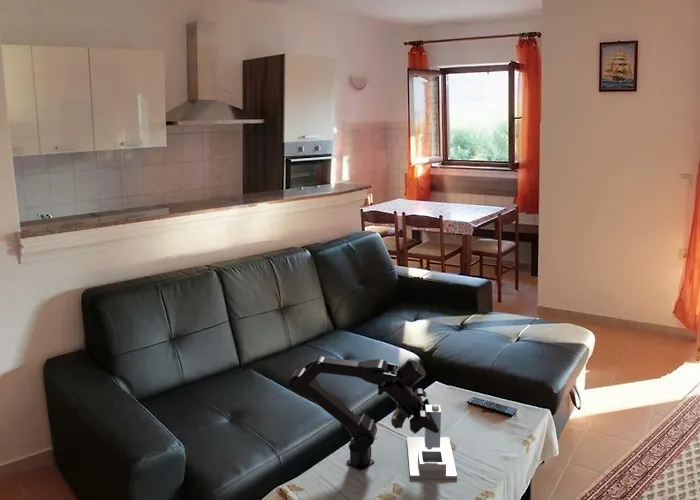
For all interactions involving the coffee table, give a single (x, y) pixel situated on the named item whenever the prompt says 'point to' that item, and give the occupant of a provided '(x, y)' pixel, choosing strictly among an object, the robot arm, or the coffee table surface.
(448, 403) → the coffee table surface
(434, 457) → the plate
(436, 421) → the block
